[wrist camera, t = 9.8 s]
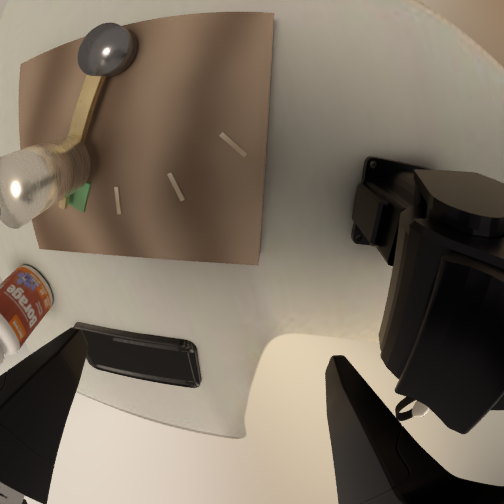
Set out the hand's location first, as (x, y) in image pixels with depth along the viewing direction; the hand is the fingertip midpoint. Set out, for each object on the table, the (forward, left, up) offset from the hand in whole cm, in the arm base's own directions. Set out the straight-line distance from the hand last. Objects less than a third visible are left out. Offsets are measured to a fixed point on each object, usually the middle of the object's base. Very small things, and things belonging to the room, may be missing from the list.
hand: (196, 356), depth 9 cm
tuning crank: (+10, -8, -11) cm, 16 cm away
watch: (-27, +26, -13) cm, 40 cm away
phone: (+11, +17, -13) cm, 24 cm away
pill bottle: (+23, +9, -13) cm, 28 cm away
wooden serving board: (+8, -5, -12) cm, 16 cm away
